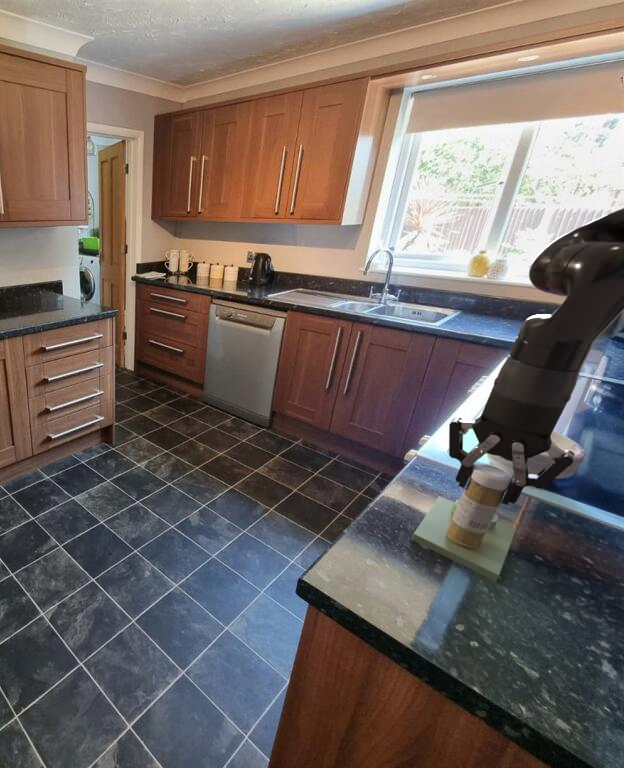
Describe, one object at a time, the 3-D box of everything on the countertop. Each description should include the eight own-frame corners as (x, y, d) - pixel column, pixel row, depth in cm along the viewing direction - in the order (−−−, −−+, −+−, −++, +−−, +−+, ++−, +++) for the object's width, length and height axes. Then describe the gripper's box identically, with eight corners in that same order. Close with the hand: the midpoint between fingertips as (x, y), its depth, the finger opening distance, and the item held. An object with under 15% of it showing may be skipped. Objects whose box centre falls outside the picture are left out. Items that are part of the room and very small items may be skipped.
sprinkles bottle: (478, 537, 69) (511, 468, 63) (480, 554, 65) (515, 484, 60) (444, 525, 71) (473, 458, 66) (444, 541, 68) (475, 472, 62)
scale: (437, 500, 79) (442, 487, 78) (514, 533, 72) (521, 519, 71) (410, 540, 70) (416, 526, 69) (495, 582, 62) (503, 567, 61)
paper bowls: (579, 501, 80) (600, 466, 77) (478, 475, 87) (493, 442, 84) (556, 462, 92) (572, 431, 89) (468, 442, 99) (481, 412, 96)
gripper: (606, 402, 55) (549, 506, 62) (471, 370, 65) (435, 463, 72) (604, 420, 51) (542, 530, 58) (458, 383, 60) (421, 481, 67)
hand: (483, 492), depth 65 cm, fingers closed on sprinkles bottle, 4 cm apart
